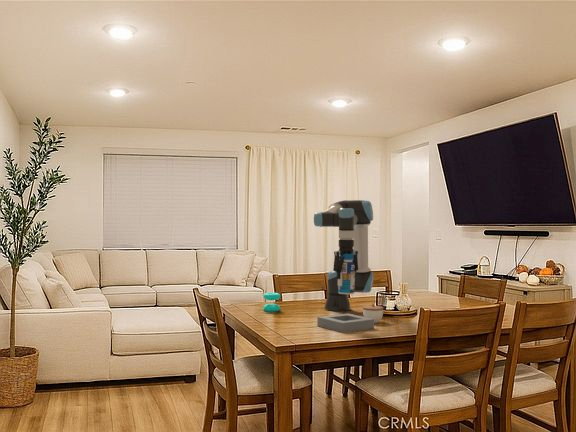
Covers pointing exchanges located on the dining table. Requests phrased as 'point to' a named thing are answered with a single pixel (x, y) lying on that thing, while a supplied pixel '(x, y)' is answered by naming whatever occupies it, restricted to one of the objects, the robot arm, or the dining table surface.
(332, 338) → the dining table surface
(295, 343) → the dining table surface
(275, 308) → the donuts
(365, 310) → the lidded jar
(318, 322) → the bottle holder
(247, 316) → the dining table surface
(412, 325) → the dining table surface
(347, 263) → the beverage bottle
